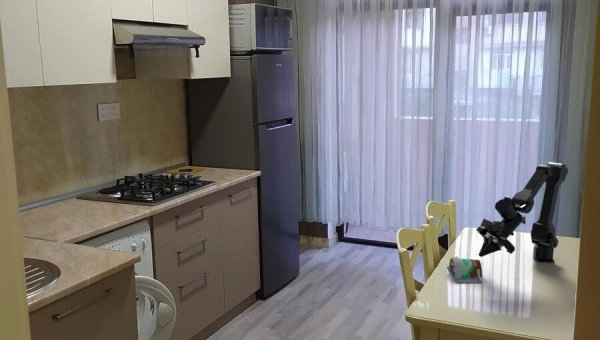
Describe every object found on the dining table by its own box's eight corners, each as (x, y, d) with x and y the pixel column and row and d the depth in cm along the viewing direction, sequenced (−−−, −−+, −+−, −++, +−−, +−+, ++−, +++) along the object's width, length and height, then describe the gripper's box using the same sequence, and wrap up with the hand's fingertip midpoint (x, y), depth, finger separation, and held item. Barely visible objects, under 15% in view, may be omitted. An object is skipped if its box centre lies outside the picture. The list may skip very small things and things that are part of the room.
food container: (483, 263, 206) (456, 262, 207) (483, 279, 208) (455, 278, 208) (475, 252, 219) (449, 251, 219) (474, 267, 220) (448, 267, 220)
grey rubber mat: (471, 267, 221) (471, 266, 221) (482, 283, 205) (482, 281, 205) (447, 267, 221) (447, 266, 221) (455, 283, 206) (455, 281, 206)
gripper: (481, 205, 219) (454, 235, 219) (509, 218, 201) (479, 250, 201) (499, 223, 222) (472, 253, 222) (527, 237, 204) (498, 269, 204)
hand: (479, 255), depth 212 cm, fingers closed
